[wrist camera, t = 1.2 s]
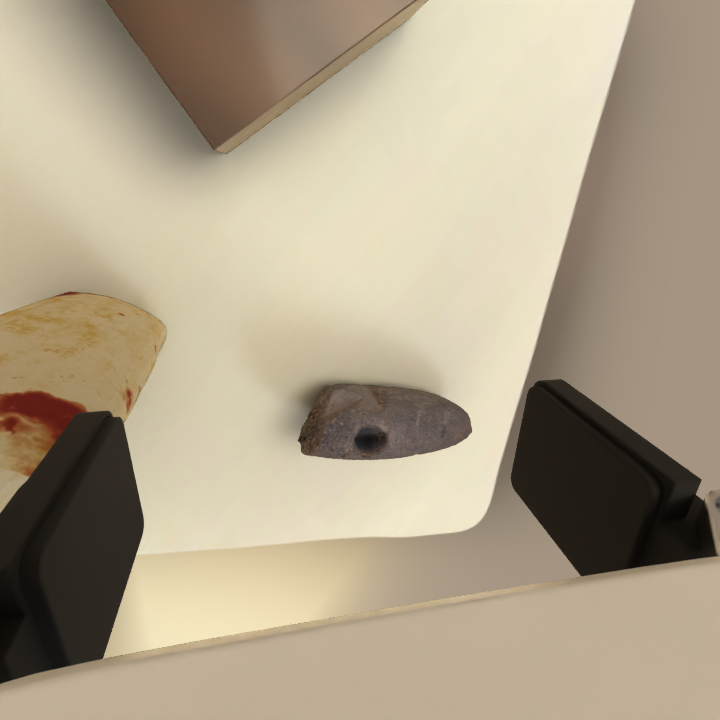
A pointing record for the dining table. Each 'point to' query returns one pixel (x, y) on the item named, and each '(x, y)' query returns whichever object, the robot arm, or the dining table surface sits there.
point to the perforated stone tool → (381, 423)
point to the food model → (67, 372)
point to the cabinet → (253, 52)
